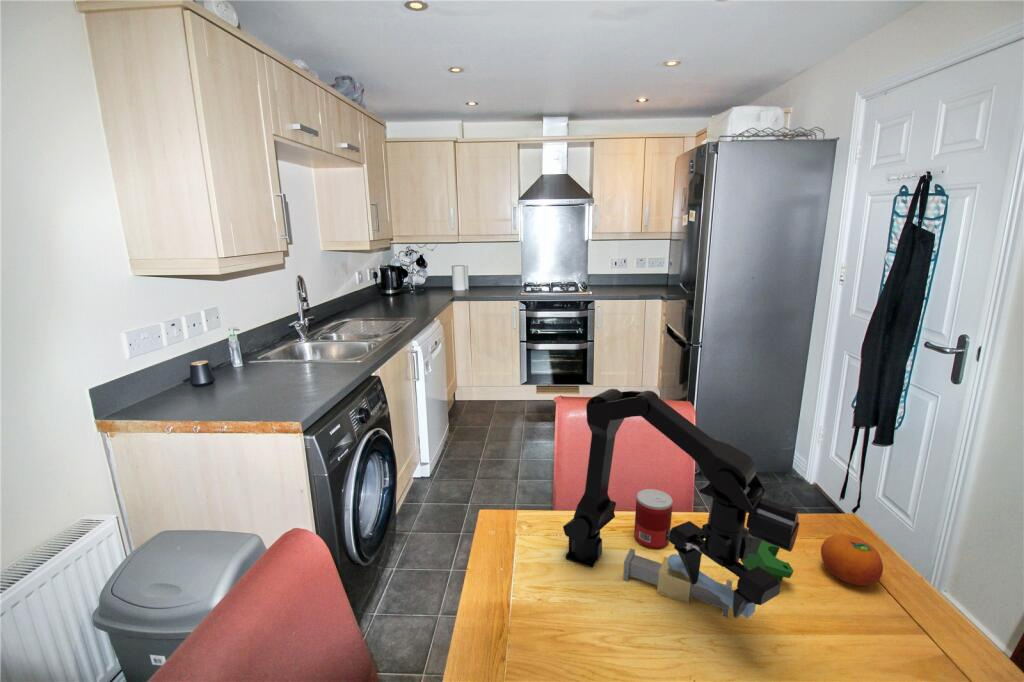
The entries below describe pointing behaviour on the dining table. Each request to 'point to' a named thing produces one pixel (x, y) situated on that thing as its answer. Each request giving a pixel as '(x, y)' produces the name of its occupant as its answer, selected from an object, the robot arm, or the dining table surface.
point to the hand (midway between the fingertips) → (714, 599)
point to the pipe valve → (670, 581)
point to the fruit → (851, 559)
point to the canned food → (653, 518)
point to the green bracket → (769, 561)
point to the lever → (710, 585)
